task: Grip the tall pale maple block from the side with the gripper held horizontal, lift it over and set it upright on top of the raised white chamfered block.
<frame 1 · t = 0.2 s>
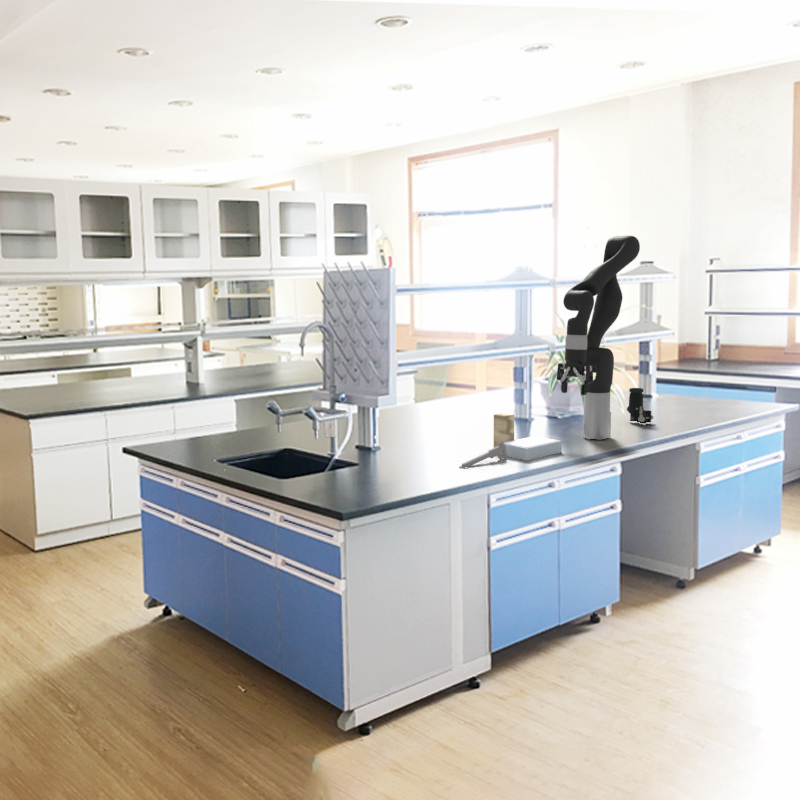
hand: (573, 393, 298), 18 cm above the countertop, tool pointing down, fingers open, 8 cm apart
maple block: (503, 448, 293), on the countertop
white chamfered block: (530, 453, 284), on the countertop
caliper: (483, 464, 271), on the countertop
scope: (637, 423, 339), on the countertop
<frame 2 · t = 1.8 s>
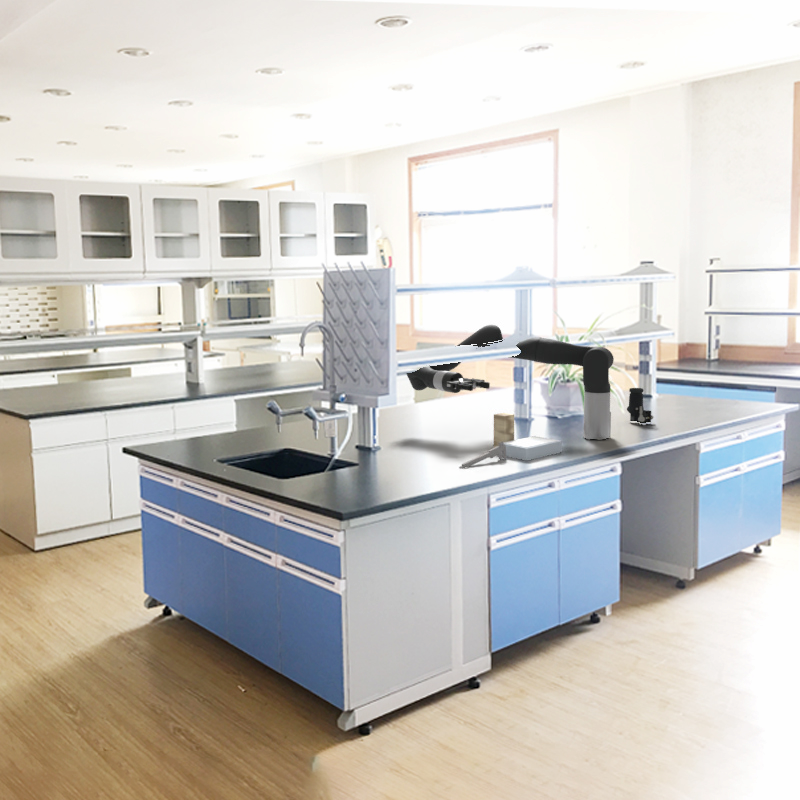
hand: (480, 386, 298), 21 cm above the countertop, tool horizontal, fingers open, 8 cm apart
nothing on the countertop moved.
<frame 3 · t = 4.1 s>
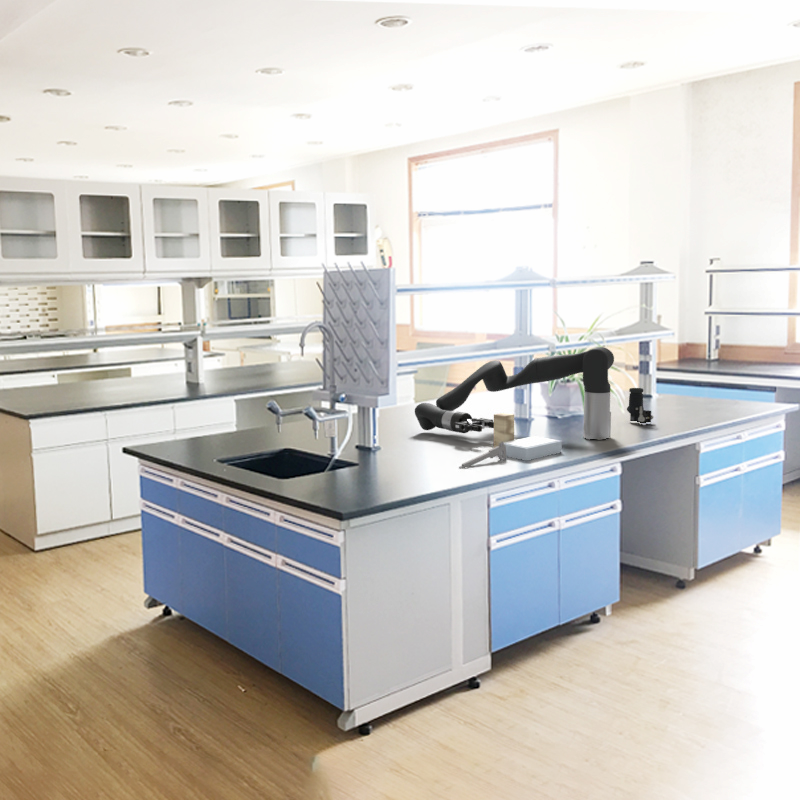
hand: (489, 427, 297), 7 cm above the countertop, tool horizontal, fingers open, 8 cm apart
nothing on the countertop moved.
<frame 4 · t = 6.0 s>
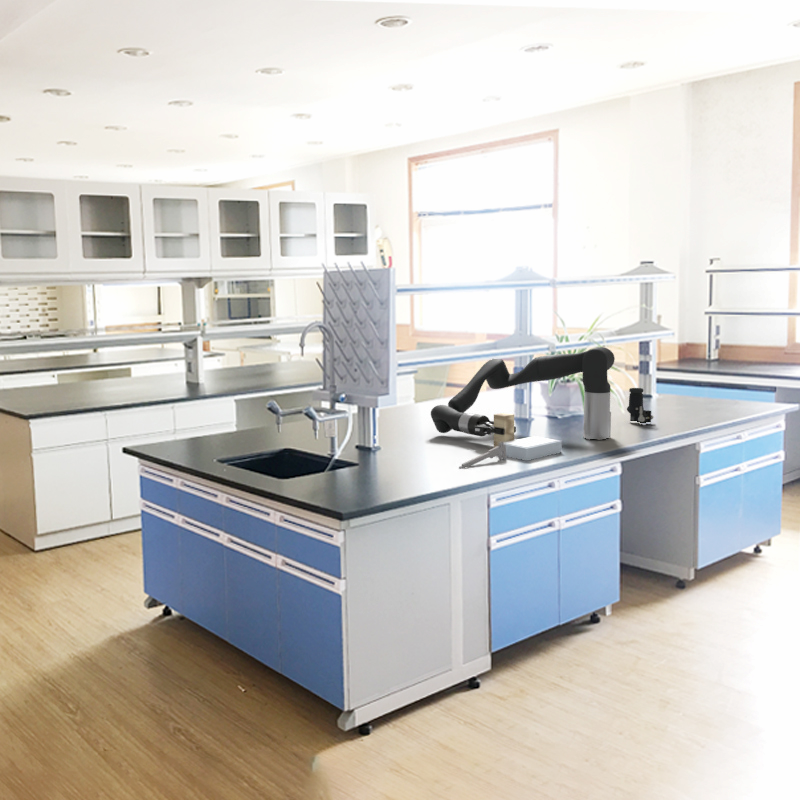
hand: (509, 430, 290), 7 cm above the countertop, tool horizontal, fingers closed on maple block, 5 cm apart
maple block: (503, 448, 293), on the countertop, touching gripper
everything else where it was.
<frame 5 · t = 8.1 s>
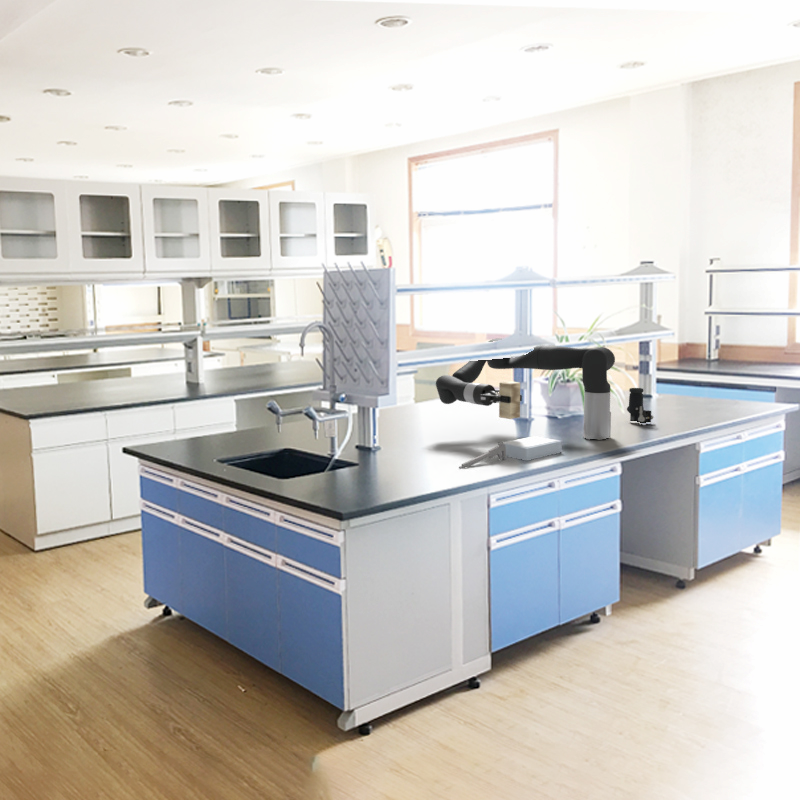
hand: (515, 399, 287), 18 cm above the countertop, tool horizontal, fingers closed on maple block, 5 cm apart
maple block: (509, 417, 290), point 11 cm above the countertop, touching gripper
everything else where it was.
when the fingers open (12 cm above the countertop, at t = 10.2 s): maple block drops 1 cm, resting on white chamfered block.
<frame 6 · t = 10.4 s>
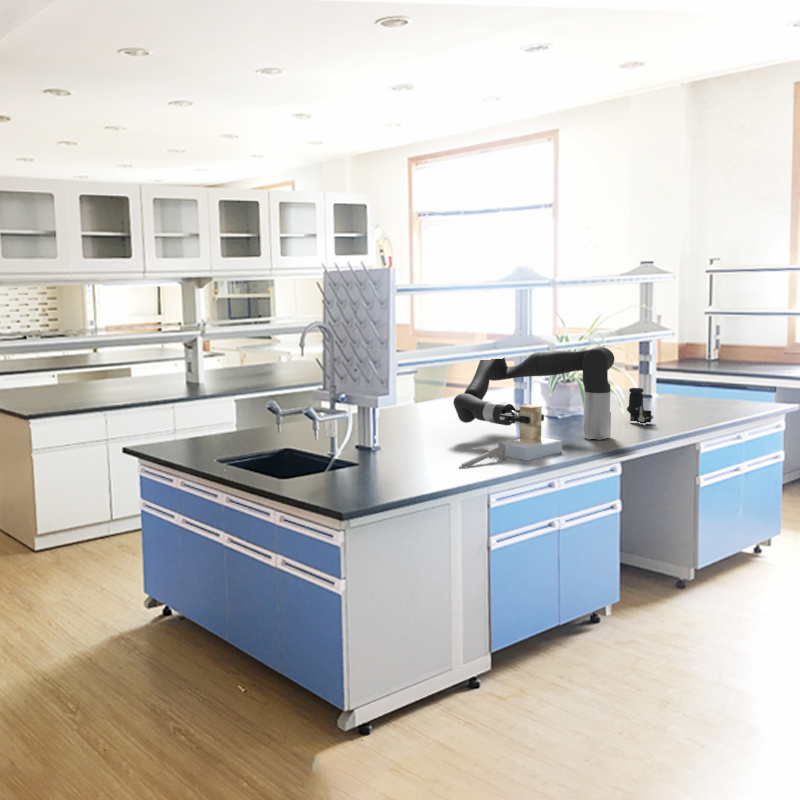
hand: (536, 419, 281), 12 cm above the countertop, tool horizontal, fingers open, 6 cm apart
maple block: (530, 441, 284), point 4 cm above the countertop, touching white chamfered block
everything else where it was.
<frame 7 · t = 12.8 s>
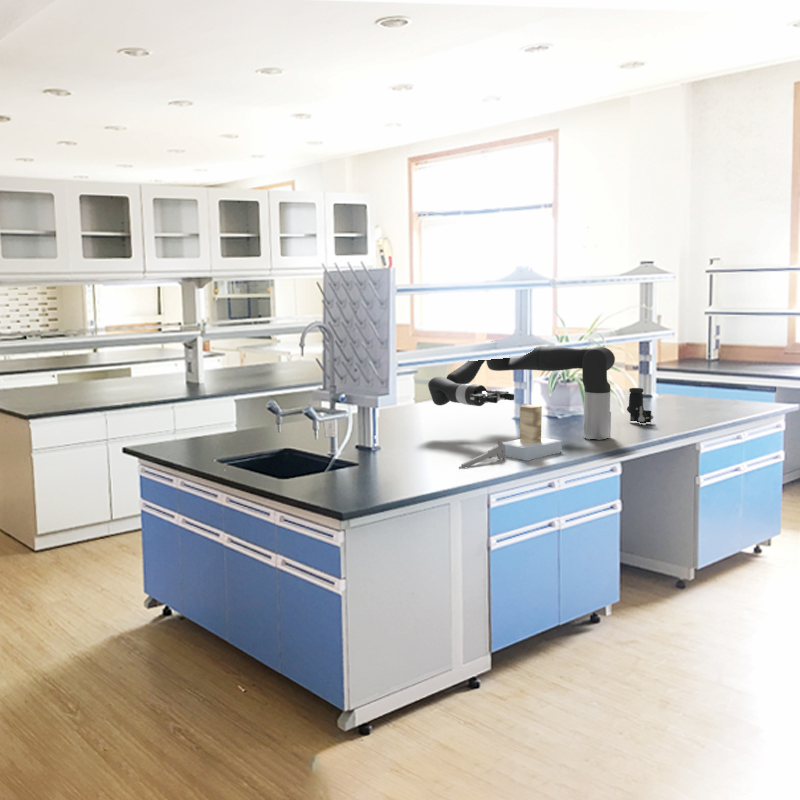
hand: (505, 398, 290), 18 cm above the countertop, tool horizontal, fingers open, 8 cm apart
nothing on the countertop moved.
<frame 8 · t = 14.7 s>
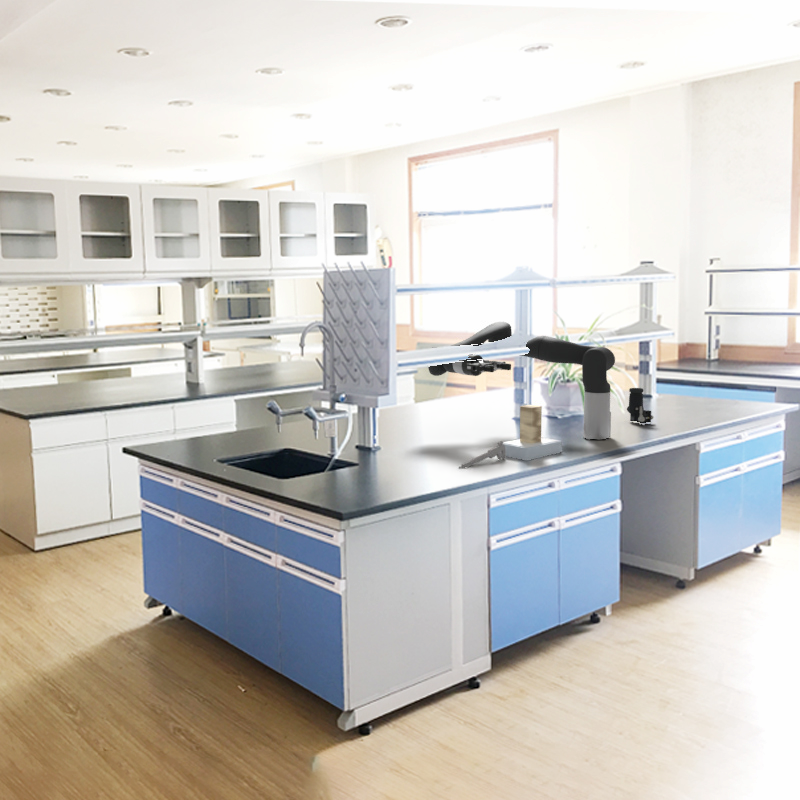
hand: (502, 368, 290), 28 cm above the countertop, tool horizontal, fingers open, 8 cm apart
nothing on the countertop moved.
at the end: maple block inside the target area on the white chamfered block (0.1 cm from its centre), point 4.2 cm above the white chamfered block's base; maple block tilted 0°; the gripper is holding nothing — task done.
